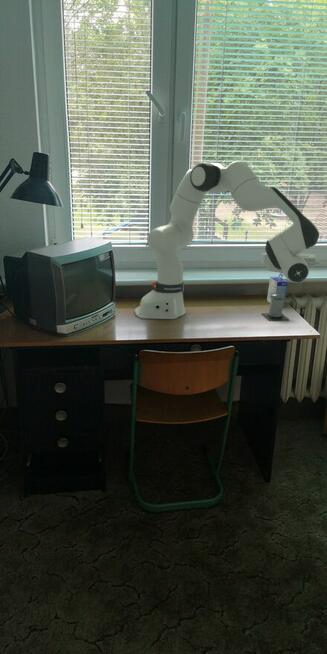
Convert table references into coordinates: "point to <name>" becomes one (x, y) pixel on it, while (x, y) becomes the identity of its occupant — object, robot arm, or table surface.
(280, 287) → the ink cartridge box
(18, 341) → the table surface
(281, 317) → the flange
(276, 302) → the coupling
